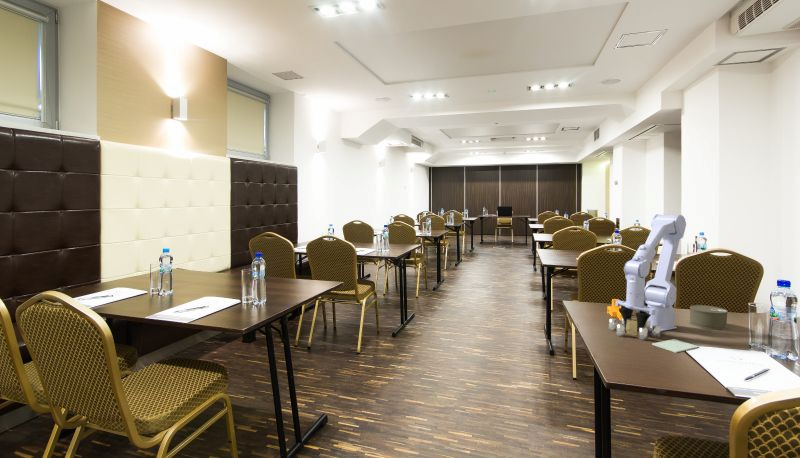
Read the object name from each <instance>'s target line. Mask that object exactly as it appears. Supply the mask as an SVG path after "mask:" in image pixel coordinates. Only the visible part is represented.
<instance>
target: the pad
mask: <svg viewBox="0 0 800 458" xmlns="http://www.w3.org/2000/svg"><path fill="white" fill-rule="evenodd" d="M651 345H652V346H655V347H657V348H661V349H663V350H667V351H670V352H673V353H675V354H676V353H682V352H685V350H686V351H688V350H687V349H690V350H693V349H692V348H695V349H698V348H697V347H700V346H698V345H695V344H692V343H689V342H685V341H682V340H678V339H676V338H672V339H668V340H667V339H666V340H662V341H658V342H653V343H651Z"/></svg>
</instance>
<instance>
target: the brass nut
mask: <svg viewBox="0 0 800 458" xmlns="http://www.w3.org/2000/svg"><path fill="white" fill-rule="evenodd" d="M625 333H627V334H629V335H634V336H639V332H638V331H637V318H634V317H631V318H627V319H626V328H625Z"/></svg>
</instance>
